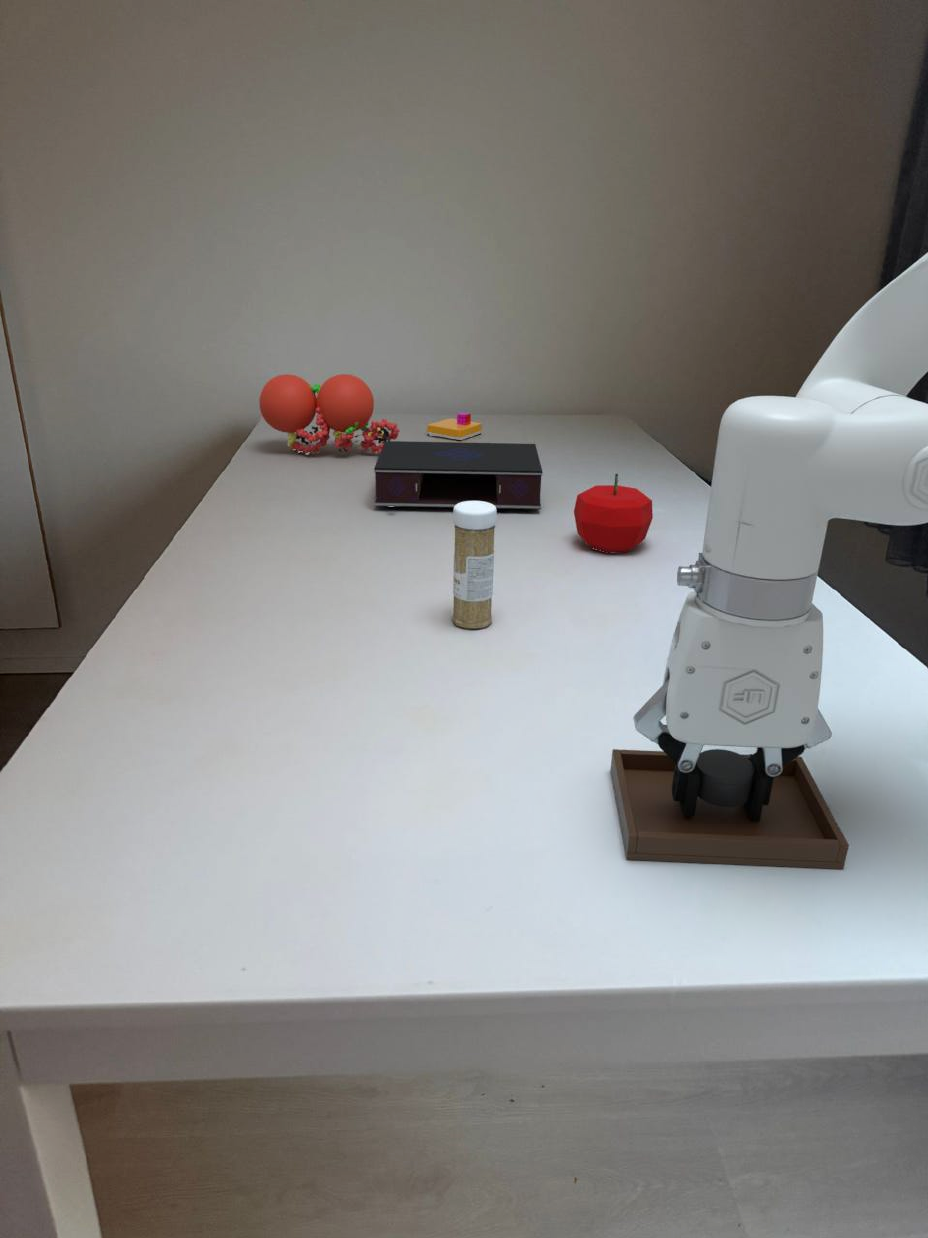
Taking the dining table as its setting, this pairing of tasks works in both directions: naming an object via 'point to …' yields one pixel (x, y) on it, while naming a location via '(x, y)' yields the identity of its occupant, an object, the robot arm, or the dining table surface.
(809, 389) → the robot arm
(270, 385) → the molecule
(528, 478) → the low media console
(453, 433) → the orange slab with cube
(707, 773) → the flask cap
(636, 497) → the apple
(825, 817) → the tray
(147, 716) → the dining table surface
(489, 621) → the spice jar
